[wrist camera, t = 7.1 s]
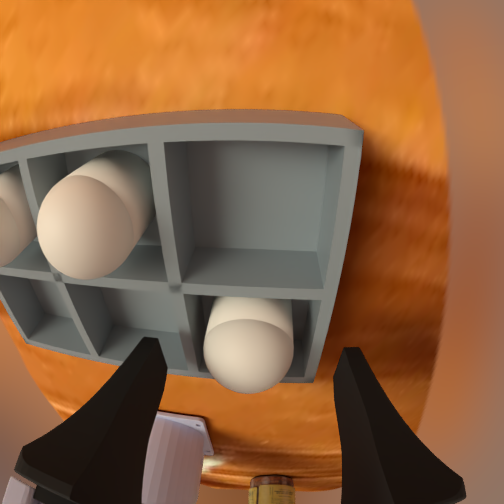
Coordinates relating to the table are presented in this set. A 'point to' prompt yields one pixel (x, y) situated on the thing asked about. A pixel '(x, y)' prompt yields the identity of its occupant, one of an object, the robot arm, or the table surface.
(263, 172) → the carton
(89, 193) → the egg
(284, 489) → the sauce bottle
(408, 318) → the table surface
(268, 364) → the egg
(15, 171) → the egg
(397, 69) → the table surface
